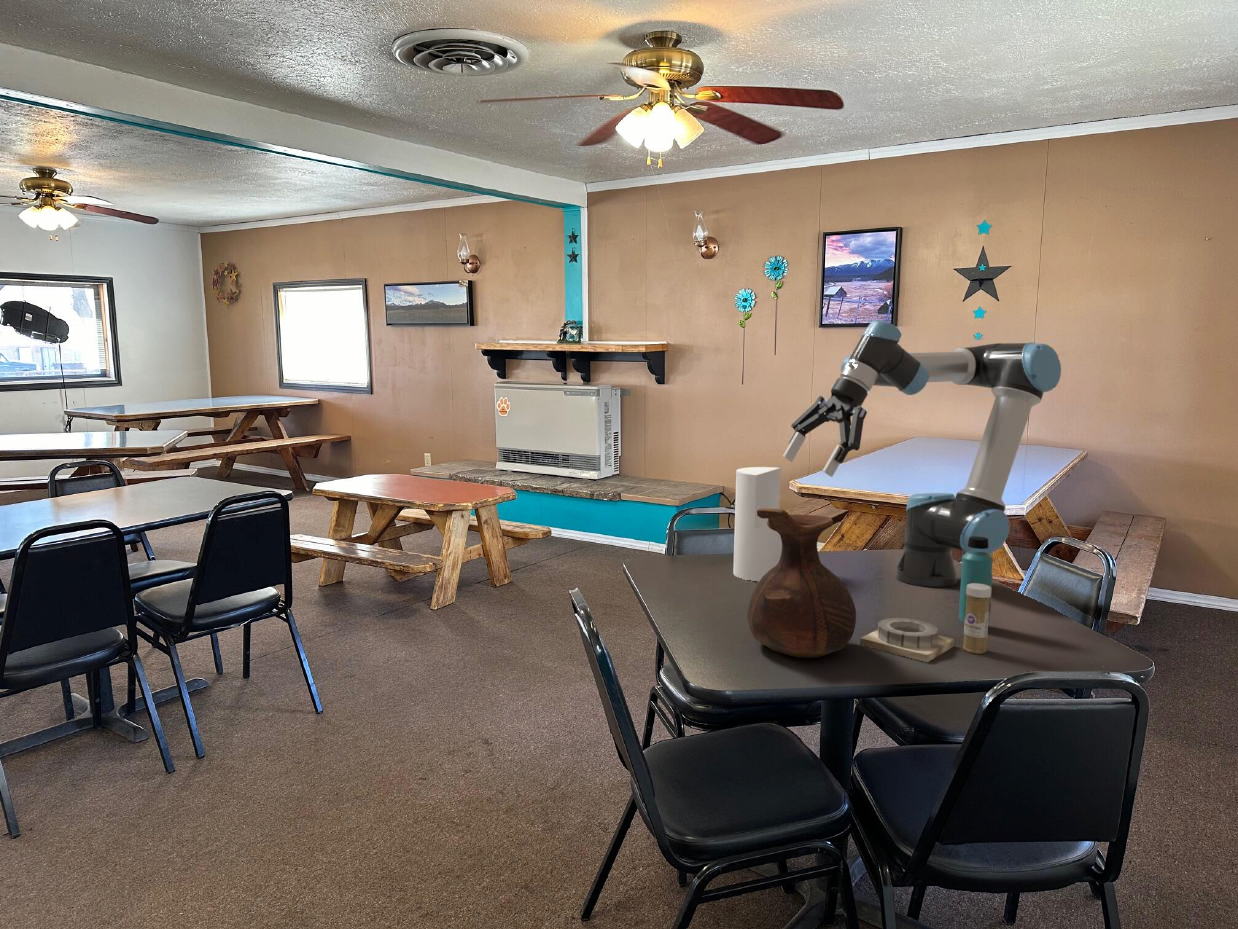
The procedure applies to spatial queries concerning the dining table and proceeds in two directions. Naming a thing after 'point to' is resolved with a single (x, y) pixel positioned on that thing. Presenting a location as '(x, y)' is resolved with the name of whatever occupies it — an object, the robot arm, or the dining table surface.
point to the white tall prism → (755, 522)
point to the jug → (800, 593)
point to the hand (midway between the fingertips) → (806, 466)
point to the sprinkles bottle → (976, 618)
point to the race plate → (909, 651)
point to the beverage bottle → (974, 570)
